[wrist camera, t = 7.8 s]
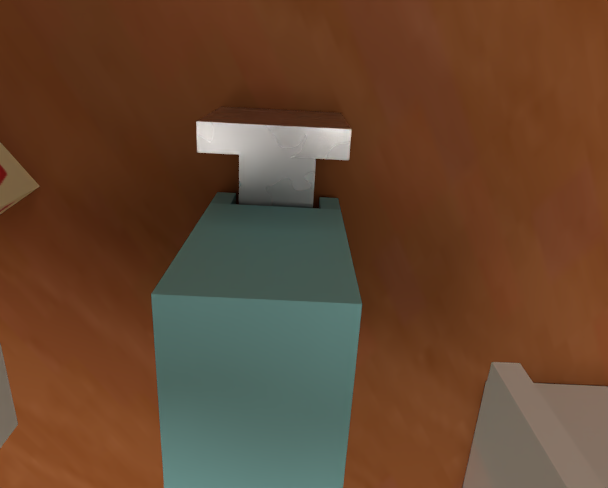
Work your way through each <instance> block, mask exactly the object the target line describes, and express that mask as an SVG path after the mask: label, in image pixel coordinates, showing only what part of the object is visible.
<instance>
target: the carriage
mask: <svg viewBox="0 0 608 488" xmlns="http://www.w3.org/2000/svg"><path fill="white" fill-rule="evenodd" d="M151 299H152V314H153V328H154V343H155V358H156V373H157V388H158V402H159V417H160V432H161V447H162V462H163V476H164V488H343V482H344V472H345V463H346V453H347V444H348V434H349V425H350V415H351V406H352V396H353V387H354V377H355V367H356V358H357V348H358V339H359V329H360V320H361V310H362V301H361V297H360V292H359V288H358V284H357V279H356V275H355V271H354V266H353V262H352V257H351V253H350V249H349V244H348V240H347V235H346V231H345V227H344V222H343V218H342V213H341V209H340V205H339V200H338V198H326V197H320V198H319V209H318V208H298V207H278V206H258V205H238V204H236V193H226V192H217V194H216V195H215V197H214V198H213V200H212V201H211V203H210V204H209V206H208V207H207V209H206V211H205V212H204V214H203V215H202V217H201V218H200V220H199V221H198V223H197V224H196V226H195V228H194V229H193V231H192V232H191V234H190V235H189V237H188V238H187V240H186V241H185V243H184V244H183V246H182V248H181V249H180V251H179V252H178V254H177V255H176V257H175V258H174V260H173V261H172V263H171V264H170V266H169V268H168V269H167V271H166V272H165V274H164V275H163V277H162V278H161V280H160V281H159V283H158V284H157V286H156V288H155V289H154V291H153V292H152V294H151Z"/></svg>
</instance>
